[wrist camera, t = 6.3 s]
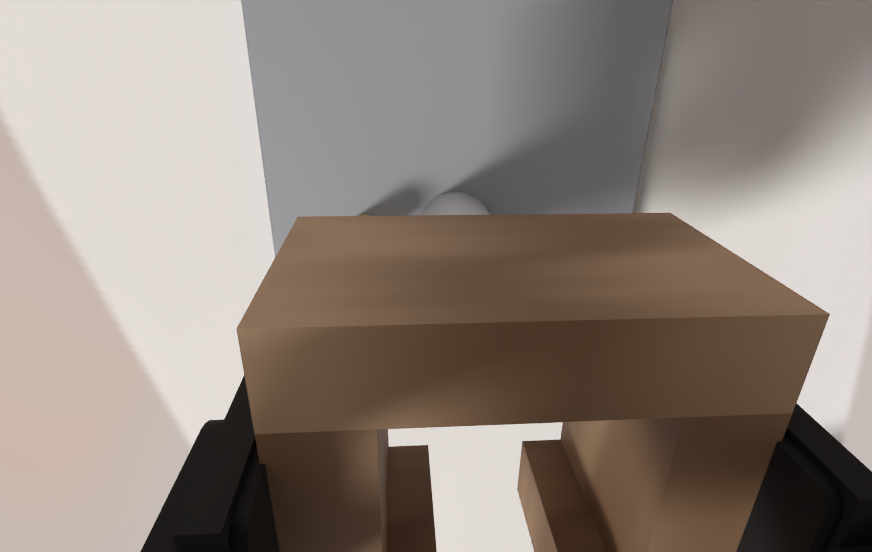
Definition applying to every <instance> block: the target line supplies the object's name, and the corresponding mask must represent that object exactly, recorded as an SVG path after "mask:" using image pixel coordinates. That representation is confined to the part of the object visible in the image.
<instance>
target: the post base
mask: <svg viewBox="0 0 872 552" xmlns="http://www.w3.org/2000/svg"><path fill="white" fill-rule="evenodd" d="M672 1H673V0H241V2H242V10H243V17H244V25H245V32H246V40H247V47H248V55H249V62H250V70H251V78H252V85H253V93H254V100H255V108H256V115H257V123H258V130H259V138H260V146H261V153H262V161H263V168H264V176H265V183H266V191H267V198H268V206H269V214H270V221H271V229H272V236H273V244H274V251H275V257H276V256H277V254H278V252H279V250H280V248H281V246H282V245H283V243H284V241H285V239H286V237H287V235H288V234H289V232H290V230H291V228H292V226H293V224H294V223H295V221H296V219H297V217H305V216H406V215H507V214H608V213H633V208H634V202H635V197H636V192H637V187H638V181H639V176H640V171H641V165H642V160H643V155H644V149H645V144H646V139H647V134H648V128H649V123H650V118H651V112H652V107H653V102H654V97H655V91H656V86H657V81H658V75H659V70H660V65H661V60H662V54H663V49H664V44H665V38H666V33H667V28H668V23H669V17H670V12H671V7H672Z"/></svg>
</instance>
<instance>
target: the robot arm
mask: <svg viewBox="0 0 872 552" xmlns="http://www.w3.org/2000/svg"><path fill="white" fill-rule="evenodd" d="M141 552H280V551H279V545H278V539H277V533H276V527H275V521H274V515H273V508H272V502H271V496H270V490H269V484H268V478H267V472H266V466H265V464H260V463H259V457H258V451H257V445H256V440H255V434H254V428H253V422H252V416H251V410H250V404H249V399H248V393H247V387H246V381H245V375H244V377H243V379H242V381H241V384H240V386H239V388H238V390H237V393H236V395H235V397H234V399H233V402H232V404H231V406H230V408H229V411H228V413H227V415H226V417H225V419H224V420H209V421H208V422H206V423H205V424H204V426H203V427H202V429H201V431H200V433H199V435H198V437H197V439H196V441H195V443H194V445H193V447H192V449H191V451H190V453H189V455H188V457H187V459H186V461H185V463H184V465H183V467H182V469H181V471H180V473H179V475H178V477H177V479H176V481H175V483H174V485H173V487H172V489H171V491H170V493H169V495H168V498H167V499H166V501H165V503H164V505H163V507H162V509H161V512H160V514H159V516H158V518H157V520H156V522H155V524H154V526H153V528H152V530H151V532H150V534H149V536H148V538H147V540H146V542H145V544H144V546H143V548H142V550H141ZM736 552H872V472H871V471H870V470H869V469H868V468H867V467H866V466H865V465H864V464H863V463H861V462H860V461H859V460H858V459H857V458H856V457H855V456H854V455H853V454H851V453H850V452H849V451H848V450H847V449H846V448H845V447H844V446H843V445H842V444H841V443H839V442H838V441H837V440H836V439H835V438H834V437H833V436H832V435H831V434H830V433H828V432H827V431H826V430H825V429H824V428H823V427H822V426H821V425H820V424H819V423H817V422H816V421H815V420H814V419H813V418H812V417H811V416H810V415H809V414H808V413H806V412H805V411H804V410H803V409H802V408H801V407H800V406H799V405H798V404H797V403H796V405H795V408H794V410H793V413H792V416H791V418H790V421H789V424H788V426H787V429H786V432H785V434H784V437H783V440H782V441H781V442H777V443H776V446H775V449H774V451H773V454H772V457H771V459H770V462H769V465H768V468H767V470H766V473H765V476H764V478H763V481H762V484H761V486H760V489H759V492H758V494H757V497H756V500H755V503H754V505H753V508H752V511H751V513H750V516H749V519H748V521H747V524H746V527H745V529H744V532H743V535H742V538H741V540H740V543H739V546H738V548H737V551H736Z"/></svg>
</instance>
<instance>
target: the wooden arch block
mask: <svg viewBox="0 0 872 552" xmlns="http://www.w3.org/2000/svg"><path fill="white" fill-rule="evenodd" d="M829 315H830V314H829V313H827V312H826V311H824V310H822V309H821V308H819V307H818V306H816V305H815V304H813V303H811V302H810V301H808V300H807V299H805V298H804V297H802V296H800V295H799V294H797V293H796V292H794V291H793V290H791V289H789V288H788V287H786V286H785V285H783V284H781V283H780V282H778V281H777V280H775V279H774V278H772V277H770V276H769V275H767V274H766V273H764V272H763V271H761V270H759V269H758V268H756V267H755V266H753V265H752V264H750V263H748V262H747V261H745V260H744V259H742V258H740V257H739V256H737V255H736V254H734V253H733V252H731V251H729V250H728V249H726V248H725V247H723V246H722V245H720V244H718V243H717V242H715V241H714V240H712V239H711V238H709V237H707V236H706V235H704V234H703V233H701V232H700V231H698V230H696V229H695V228H693V227H692V226H690V225H688V224H687V223H685V222H684V221H682V220H681V219H679V218H677V217H676V216H674V215H673V214H671V213H608V214H507V215H406V216H305V217H297V219H296V221H295V223H294V224H293V226H292V228H291V230H290V232H289V234H288V235H287V237H286V239H285V241H284V243H283V245H282V246H281V248H280V250H279V252H278V254H277V256H276V257H275V259H274V261H273V263H272V265H271V267H270V268H269V270H268V272H267V274H266V276H265V278H264V279H263V281H262V283H261V285H260V287H259V289H258V291H257V292H256V294H255V296H254V298H253V300H252V302H251V303H250V305H249V307H248V309H247V311H246V313H245V314H244V316H243V318H242V320H241V322H240V324H239V325H238V327H237V334H238V340H239V346H240V352H241V357H242V363H243V369H244V375H245V381H246V387H247V393H248V399H249V404H250V410H251V416H252V422H253V428H254V434H255V440H256V445H257V451H258V457H259V463H260V464H265V466H266V472H267V478H268V484H269V490H270V496H271V502H272V508H273V515H274V521H275V527H276V533H277V539H278V545H279V551H280V552H436V539H435V527H434V515H433V502H432V490H431V478H430V465H429V453H428V445H422V446H398V447H388V429H399V428H425V427H450V426H476V425H501V424H527V423H553V422H563V426H562V433H561V440H542V441H522V451H521V460H520V469H519V479H518V488H517V489H518V493H519V497H520V500H521V504H522V508H523V511H524V515H525V519H526V522H527V526H528V530H529V533H530V537H531V541H532V544H533V548H534V552H736V551H737V548H738V546H739V543H740V540H741V538H742V535H743V532H744V529H745V527H746V524H747V521H748V519H749V516H750V513H751V511H752V508H753V505H754V503H755V500H756V497H757V494H758V492H759V489H760V486H761V484H762V481H763V478H764V476H765V473H766V470H767V468H768V465H769V462H770V459H771V457H772V454H773V451H774V449H775V446H776V443H777V442H781V441H782V440H783V437H784V434H785V432H786V429H787V426H788V424H789V421H790V418H791V416H792V413H793V410H794V408H795V405H796V402H797V400H798V397H799V394H800V392H801V389H802V386H803V384H804V381H805V378H806V376H807V373H808V371H809V368H810V365H811V363H812V360H813V357H814V355H815V352H816V349H817V347H818V344H819V341H820V339H821V336H822V333H823V331H824V328H825V325H826V323H827V320H828V317H829Z"/></svg>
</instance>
